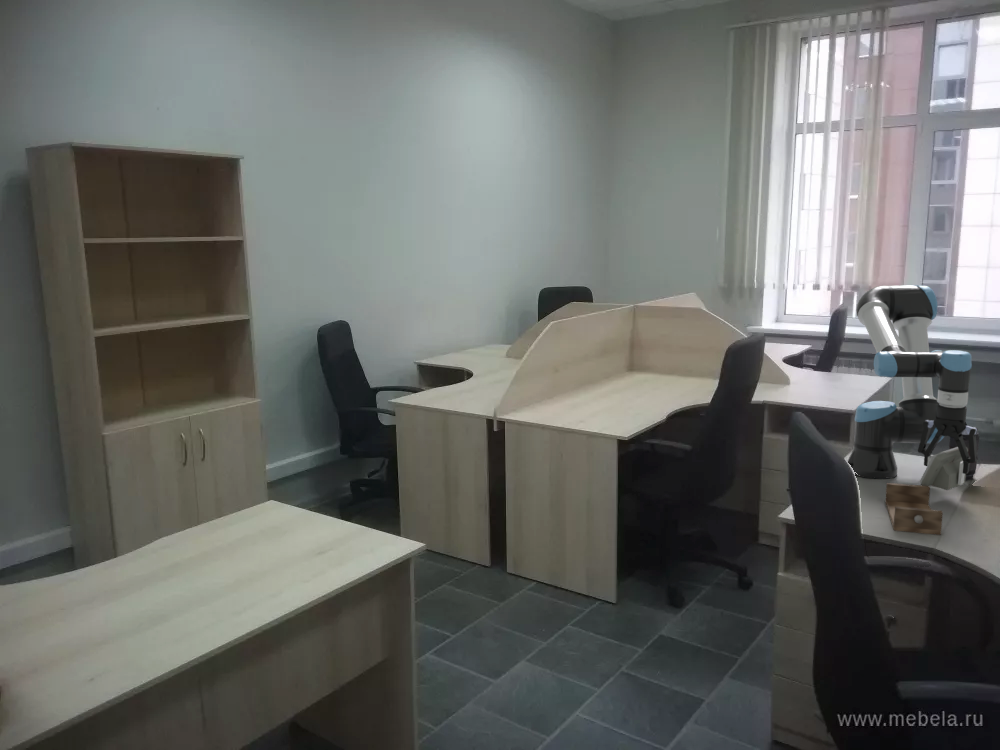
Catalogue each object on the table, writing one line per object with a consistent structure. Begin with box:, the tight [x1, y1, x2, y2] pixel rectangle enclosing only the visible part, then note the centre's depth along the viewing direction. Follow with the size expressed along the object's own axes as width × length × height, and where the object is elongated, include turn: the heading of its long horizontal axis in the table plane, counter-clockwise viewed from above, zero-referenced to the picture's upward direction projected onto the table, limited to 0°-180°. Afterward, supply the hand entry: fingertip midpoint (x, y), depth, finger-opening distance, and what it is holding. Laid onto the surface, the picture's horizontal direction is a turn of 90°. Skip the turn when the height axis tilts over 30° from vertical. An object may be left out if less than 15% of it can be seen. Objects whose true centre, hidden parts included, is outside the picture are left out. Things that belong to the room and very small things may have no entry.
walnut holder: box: [884, 482, 944, 536], centre depth 212 cm, size 11×24×6 cm, turn 159°
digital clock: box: [919, 447, 968, 491], centre depth 224 cm, size 16×9×11 cm, turn 110°
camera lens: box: [948, 430, 980, 481], centre depth 245 cm, size 8×8×15 cm
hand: (944, 480), depth 224 cm, fingers closed on digital clock, 8 cm apart
